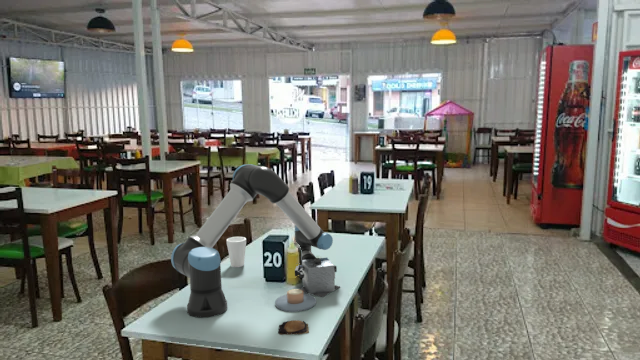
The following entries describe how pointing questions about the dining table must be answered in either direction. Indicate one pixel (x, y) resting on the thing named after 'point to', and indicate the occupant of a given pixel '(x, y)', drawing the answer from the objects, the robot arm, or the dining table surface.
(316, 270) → the food cover
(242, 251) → the foam cup
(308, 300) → the plate with peach cylinder
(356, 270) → the dining table surface
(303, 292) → the mat
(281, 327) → the bread roll
